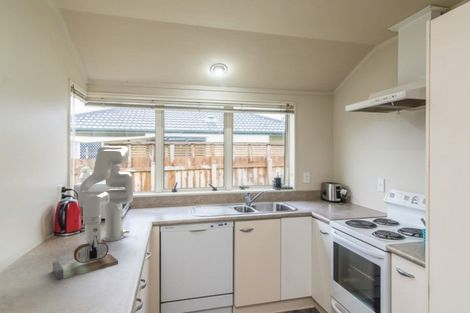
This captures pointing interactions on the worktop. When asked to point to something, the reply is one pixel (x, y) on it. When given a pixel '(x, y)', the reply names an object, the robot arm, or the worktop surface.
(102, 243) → the tin
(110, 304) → the worktop surface
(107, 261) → the mounting board
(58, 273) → the bracket
